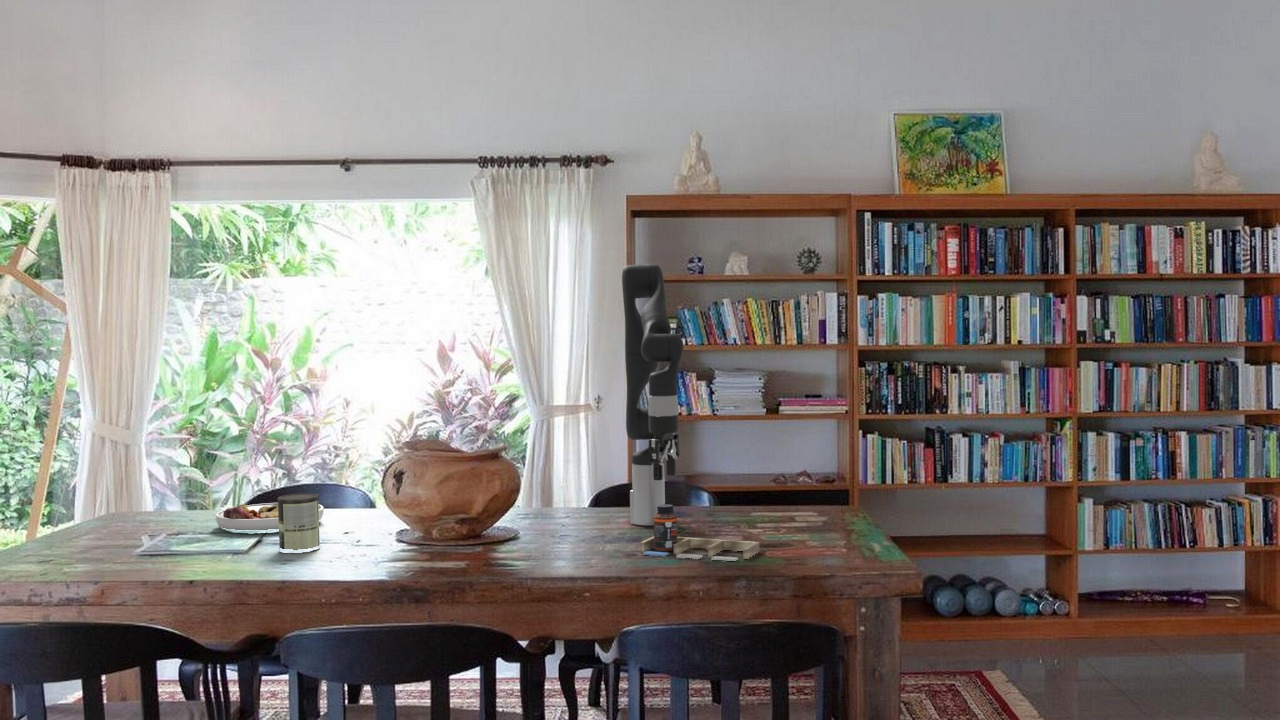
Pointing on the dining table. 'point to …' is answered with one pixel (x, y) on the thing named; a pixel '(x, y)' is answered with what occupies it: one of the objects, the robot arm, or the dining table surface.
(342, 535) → the dining table surface
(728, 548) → the divider rack
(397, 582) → the dining table surface
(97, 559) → the dining table surface
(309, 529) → the coffee can
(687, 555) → the bezel tiles
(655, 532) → the supplement bottle
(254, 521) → the bowl
